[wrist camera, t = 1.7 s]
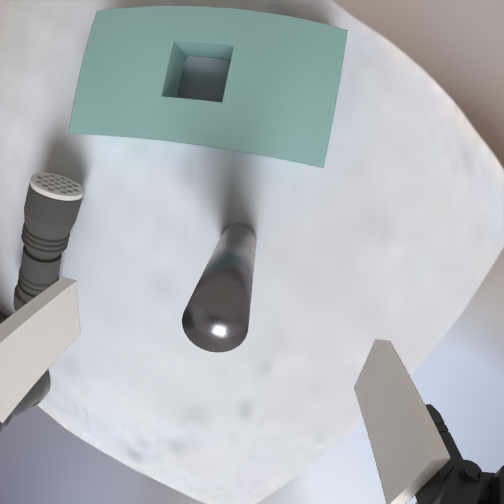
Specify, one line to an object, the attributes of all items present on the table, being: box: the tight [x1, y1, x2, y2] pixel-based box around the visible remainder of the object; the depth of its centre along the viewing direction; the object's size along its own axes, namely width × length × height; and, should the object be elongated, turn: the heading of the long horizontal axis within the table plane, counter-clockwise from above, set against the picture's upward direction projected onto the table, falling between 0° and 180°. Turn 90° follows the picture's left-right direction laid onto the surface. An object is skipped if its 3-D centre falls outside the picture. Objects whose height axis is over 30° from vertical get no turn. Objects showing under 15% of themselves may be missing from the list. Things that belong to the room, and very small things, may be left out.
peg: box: [182, 224, 256, 352], centre depth 21 cm, size 3×3×14 cm
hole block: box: [69, 6, 348, 168], centre depth 21 cm, size 20×11×4 cm, turn 80°
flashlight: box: [14, 173, 84, 311], centre depth 26 cm, size 15×5×5 cm, turn 154°
